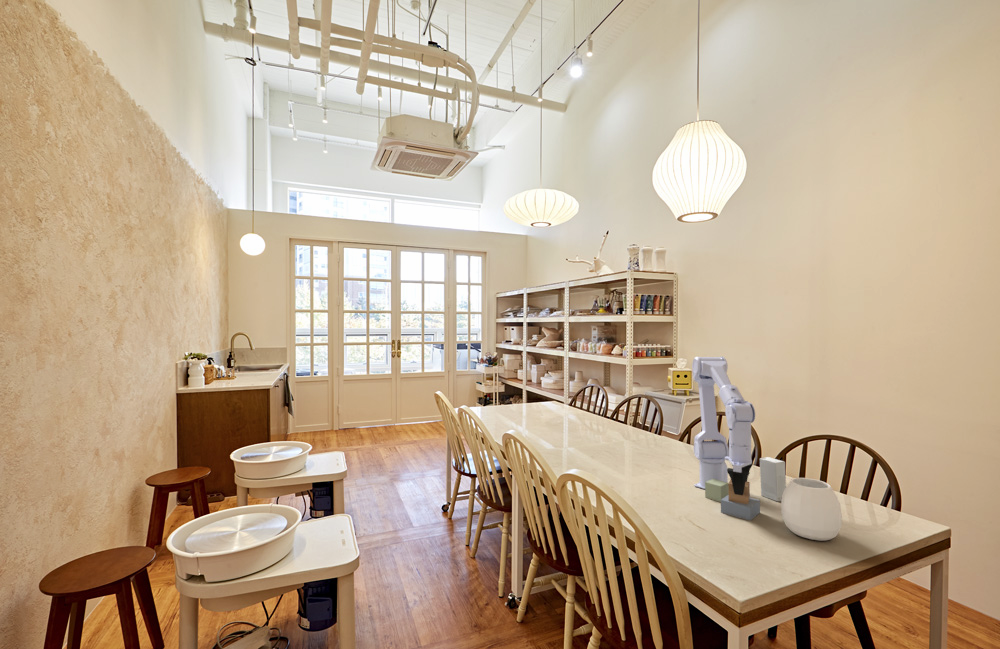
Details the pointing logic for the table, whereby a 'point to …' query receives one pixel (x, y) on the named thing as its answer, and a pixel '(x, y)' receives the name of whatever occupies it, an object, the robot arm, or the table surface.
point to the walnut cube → (739, 498)
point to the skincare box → (772, 478)
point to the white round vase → (811, 509)
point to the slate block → (740, 508)
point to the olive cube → (716, 489)
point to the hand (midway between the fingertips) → (740, 490)
